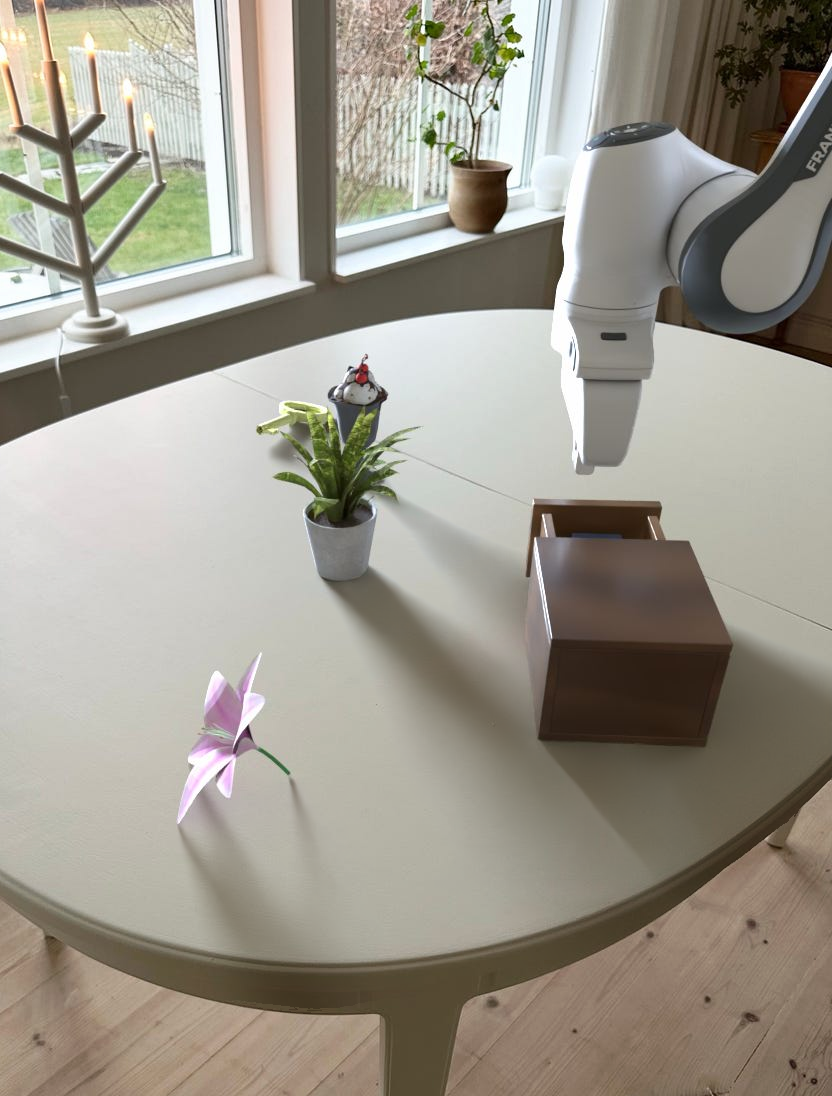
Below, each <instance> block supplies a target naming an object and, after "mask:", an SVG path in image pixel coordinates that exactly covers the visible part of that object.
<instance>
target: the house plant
mask: <svg viewBox="0 0 832 1096" xmlns="http://www.w3.org/2000/svg"><path fill="white" fill-rule="evenodd" d="M305 408H306V410H305V412H306V415H307V419H308V423H307V424H308V428H309V431H310V437H311V438H310V439H309V441H312V450H313V454H314V458H315V459H314V458H313V457H312V455H311V453H310V452H309V451H308V449H307V448H306V447H305V446H303V444H302V443H301V442H299V441H298V440H297V439H296V438H294V437H293V436H292V435H290V434H288V433H285V432H283V431H281V430H279V433H280V434H281V435H282V436H283V437H284V438H285V439H286V440H288V441H289V442H290V444H291V446H292V447H293V448H294V449H295V451H296V452H297V453H298V454H299V455H301V457H302V458H303V459H304V461H305V462H306V463H305V462H304V461H303V459H302V458H300V457H299V456H297V455H295V454H292V453H291V456H293V457H295V458H296V459H297V460H299V461H300V462H301V463H302V464H303V465H304V466H305V467H306V468H307V469H308V471H309V473H310V475H311V476H312V477H313V480H315V482H316V483H317V485H318V487H319V490H320V492H319V491H318V489H317V488H316V487H315V486H314V485H313V484H312V482H310V481H309V480H307V479H306V478H304V477H303V476H300V475H299V474H297V473H293V472H291V471H282V472H278V473H276V474H274V475H273V476H272V477H271V478H270V480H272V479H275V480H278V481H282V482H287V483H291V484H295V485H298V486H301V487H302V488H305V489H307V490H308V491H310V492H311V493H312V494H313V495H314V496H315V497H314V498H313V499H312V500H311V501H309V502H308V503H307V504H306V505H305V506H304V508H303V510H302V511H303V512H302V515H303V520H304V524H305V528H306V532H307V535H308V541H309V545H310V550H311V553H312V557H313V561H314V566H315V569H316V572H317V574H318V575H319V576H320V577H322V578H323V579H327V580H330V581H336V582H344V581H351V580H356V579H357V578H360V577H362V576H363V575H365V573H366V572H367V570H368V567H369V562H370V556H371V551H372V544H373V539H374V535H375V529H376V522H377V516H378V508H377V506H376V504H375V503H373V502H372V501H371V499H373V498H374V497H375V495H373V496H371V497H370V498H369V499H368V498H366V497H364V495H366V493H367V492H376V493H377V494H376V496H378V495H386V496H387V497H390V498H392V499H394V500H395V501H396V502H397V503H398V505H400V503H399V500H398V497H397V494H396V492H395V491H394V490H393V489H391V488H390V487H389V486H386V485H381V484H376V483H378V482H380V481H383V480H385V479H387V478H389V477H391V476H394V475H396V474H399V472H398V471H396V470H395V469H392V468H394V467H393V466H396V465H398V464H401V463H405V462H406V461H408V459H402V460H394V461H390V462H386V461H384V460H382V459H379V457H381V455H382V454H384V453H385V452H389V453H398V454H402V452H401V451H400V450H397V449H395V448H392V446H394V445H395V444H396V443H400V442H404V441H406V440H410V439H411V437H409V438H408V437H407V438H405V437H404V438H398V437H400V436H402V435H404V434H407V433H410V432H412V431H415V430H418V429H420V428H423V426H422V425H419V426H414V427H409V428H405V429H401V430H399V431H396V432H394V433H392V434H391V435H388V436H387V437H386V438H384V439H382V440H381V441H380V442H379V443H377V444H375V445H371V446H369V447H368V448H366V449H365V450H362V449H363V447H364V445H365V443H366V441H367V439H368V437H369V435H370V428H371V422H372V420H373V418H374V417H375V415H376V413H377V409H378V408H377V409H374V410H373V411H372V412H370V413H369V414H368V415H366V416H365V405H364V406H363V408H362V410H361V412H360V413H359V415H358V417H357V420H356V422H355V424H354V426H353V428H352V430H351V432H350V434H349V436H348V438H347V441H346V443H345V444H344V445H343V450H342V447H341V441H340V440H341V438H340V434H339V431H338V430H337V429H338V428H337V427H336V424H335V421H334V417H333V414H332V413H331V410H330V409H329V407H328V406H326V408H327V415H328V421H327V422H328V434H329V438H328V434H327V431H326V428H325V426H324V425H323V423H321V422H320V421H319V420H318V419H317V417H316V415H315V414H314V413H315V412H314V411H313V410H311V409H310V408H309V407H307V406H306V407H305ZM379 408H380V407H379ZM329 410H330V411H329ZM364 416H365V418H364ZM329 440H330V441H329ZM363 456H364V459H363V461H362V462H361V463H360V465H359V466H358V467H357V469H356V470H355V471H354V469H355V466H356V463H357V462H358V461H359V460H360V459H361V458H362V457H363ZM384 464H385V465H384ZM380 465H383V466H382V467H381V468H379V469H377V468H376V467H377V466H380ZM369 469H373V470H376V471H375V472H373V473H372V474H371V475H369V476H368V477H367V478H366V479H365V480H364V481H363V479H364V477H365V476H366V474H367V472H368V471H369ZM357 481H358V482H357ZM362 481H363V482H362ZM361 482H362V483H361ZM356 483H357V484H356ZM355 485H356V486H355Z"/></svg>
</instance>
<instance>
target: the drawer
mask: <svg viewBox="0 0 832 1096" xmlns="http://www.w3.org/2000/svg"><path fill="white" fill-rule="evenodd" d="M662 513H663V506H662V503H661V501H660V500H625V499H624V500H623V499H622V500H621V499H619V500H617V499H578V498H577V499H574V498H573V499H571V498H566V499H565V498H532V501H531V510H530V518H529V519H530V520H529V526H528V527H529V528H528V537H527V545H526V557H525V565H524V576H525V578H526V579H527V578H528V579H530V574H531V565H532V556H533V547H534V538H535V537H559V538H571V537H572V533H587V534H620V535H622V539H643V540H667V538H666V536H665V534H664V531H663V528H662V526H661V523H660V521H661V517H662Z"/></svg>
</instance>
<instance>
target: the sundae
mask: <svg viewBox="0 0 832 1096" xmlns="http://www.w3.org/2000/svg"><path fill="white" fill-rule="evenodd" d="M368 359H369V354H367V353H365V354H364V357H362V359H361V362H360V364H358V366H357V367H356V366H355V367H354V366H352V365H349V366H348V368H347V370H346V373H345V376H344V379H343V381H342V382H341V383H340V384H338V385H334V386H332V387H331V388H330V389H329V390H328V392H327V395H326V397H327V400H328V402H331V403H332V404H333V405H334V406H333V407H334V409H335V414H336V420H337V427H338V428H337V429H338V434H339V438H340V440H341V442H342V443H343V445H345V443H346V441H347V438H348V436H349V434H350V432H351V430H352V428H353V426H354V424H355V422H356V420H357V417H358V415H359V413H360V412H361V410H362V408H363V406H364V405H365V416H366V415H368V414H369V413H370V412H372V411H373V410H374V409H377V408H378V409H377V413H376V415H375V417H374V418H373V420H372V422H371V428H370V435H369V437H368V439H367V441H366V443H365V445H364V447H363V449H362V450H365V449H367V448H369V447H371V446H372V445H373V444H374V443H375V441H376V440H377V435H378V430H379V423H380V422H379V421H380V416H381V415H380V414H381V410H382V405H383V403H384V402H386V401H387V400H388V397H389V392H388V391H387V390H386V389H385V388H384V387H383V386H381V385H379V383H378V382H377V381H376V379H375V376H374V373H373V372H372V371H371V370H370V367H369V365H368V364H367V363H364V362H366V361H367V360H368ZM379 407H380V408H379ZM365 416H364V418H365ZM364 458H365V455H364V456H363V457H362V458H361V459H360V460H359V461H358V462H357V463H356V466H355V469H354V471H355V470H356V469H357V467H358V466H359V465H360V463H361V462H362V461H363V459H364ZM375 471H377V470H375V469H369V471H368V472H367V474H366V476H365V477H364V479H363V481H364V480H365V479H366V478H367V477H368V476H369V475H371V474H372V473H373V472H375ZM363 481H362V482H363ZM357 482H358V481H357ZM362 482H361V483H362ZM356 484H357V483H356ZM355 486H356V485H355Z"/></svg>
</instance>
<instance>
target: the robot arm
mask: <svg viewBox="0 0 832 1096" xmlns="http://www.w3.org/2000/svg"><path fill="white" fill-rule="evenodd" d="M831 244H832V53H831V54H830V56H829V58H828V61H827V62H826V64H825V66H824V68H823V70H822V72H821V74H820V75H819V77H818V79H817V80H816V81H815V84H814V85H813V87H812V89H811V90H810V92H809V94H808V96H807V97H806V99H805V101H804V102H803V104H802V106H801V107H800V108H799V110H798V113H797V114H796V115H795V117H794V119H793V120H792V122H791V124H790V126H789V128H788V129H787V131H786V133H785V134H784V136H783V137H782V139H781V141H780V142H779V144H778V146H777V148H776V149H775V151H774V152H773V154H772V156H771V158H770V160H769V161H768V162H767V164H766V166H765V167H764V168H763V170H762V171H761V172H760V173H759V174H757V173H755V172H753V171H752V170H749V169H746V168H744V167H741V166H737V165H735V164H733V163H729V162H727V161H725V160H723V159H720V158H719V157H716V156H714V155H712V154H711V153H708V152H707V151H706V150H704V149H703V148H701V147H700V146H698V145H696V144H695V143H694V142H692V141H691V140H690V139H689V138H687V137H686V136H685V135H684V134H683V133H682V132H681V131H680V130H679V128H678V127H677V126H676V125H674V124H672V123H668V122H665V121H649V122H647V121H640V122H633V123H627V124H623V125H618V126H615V127H614V126H613V127H612V128H608V129H606V130H604V131H601V132H600V133H598V134H596V135H595V136H593V137H592V138H591V139H590V140H589V141H588V142H587V143H586V144H585V145H584V146H583V148H582V149H581V151H580V153H579V155H578V158H577V160H576V163H575V166H574V170H573V173H572V178H571V182H570V186H569V192H568V197H567V202H566V210H565V216H564V225H563V232H562V247H563V249H562V250H563V253H564V263H563V264H564V265H563V269H562V273H561V276H560V278H559V281H558V283H557V287H556V293H555V302H554V311H553V320H552V330H551V337H550V338H551V339H550V344H551V347H552V348H553V349H554V350H555V351H556V352H558V353H559V354H561V356H562V366H561V374H560V375H561V377H560V380H561V381H560V384H561V385H560V386H561V391H562V393H563V397H564V402H565V405H566V409H567V412H568V416H569V419H570V423H571V428H572V432H573V433H572V434H573V438H572V439H573V446H572V447H573V448H572V455H571V460H572V463H573V467H574V471H575V474H576V475H578V476H590V475H592V474H594V472H595V469H596V467H597V468H598V467H599V468H616V467H617V468H618V467H620V466H622V464H623V463H624V461H625V459H626V457H627V455H628V453H629V449H630V446H631V442H632V438H633V435H634V430H635V425H636V422H637V418H638V414H639V409H640V404H641V398H642V393H643V391H642V390H643V381H647V380H648V381H649V380H650V379H651V378H652V375H653V371H654V365H655V350H654V340H653V339H654V335H655V334H654V333H655V329H656V318H657V312H658V305H659V300H660V295H661V294H660V293H661V292H662V290H663V289H665V288H667V287H680V289H681V293H682V295H683V299H684V301H685V304H686V305H687V308H688V309H689V311H690V313H691V314H692V315H693V316H694V317H695V318H696V319H697V320H698V321H699V322H700V323H701V324H703V325H704V326H705V327H707V328H709V329H711V330H714V331H717V332H720V333H724V334H731V335H743V334H745V335H746V334H752V333H756V332H760V331H763V330H766V329H769V328H771V327H773V326H775V325H777V324H779V323H781V322H782V321H784V320H786V319H787V318H788V317H790V316H791V315H792V314H794V313H795V312H796V311H797V310H798V309H799V308H800V307H801V306H802V305H803V304H804V303H805V302H806V300H807V299H808V298H809V297H810V295H811V294H812V293H813V291H814V289H816V286H817V284H818V282H819V279H820V278H821V275H822V272H823V270H824V268H825V263H826V261H827V257H828V254H829V250H830V247H831Z"/></svg>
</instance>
